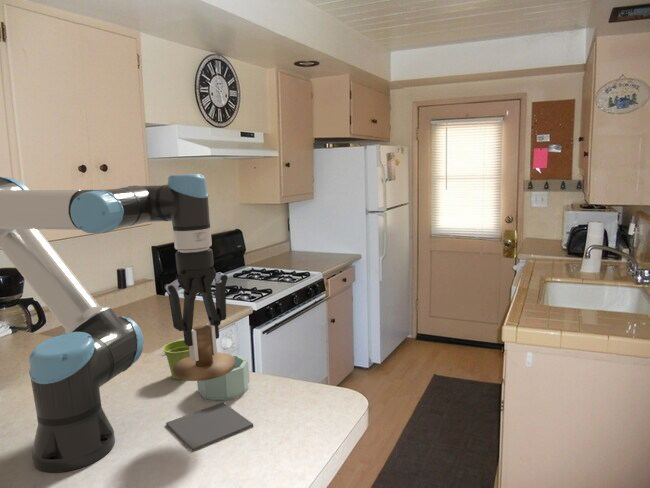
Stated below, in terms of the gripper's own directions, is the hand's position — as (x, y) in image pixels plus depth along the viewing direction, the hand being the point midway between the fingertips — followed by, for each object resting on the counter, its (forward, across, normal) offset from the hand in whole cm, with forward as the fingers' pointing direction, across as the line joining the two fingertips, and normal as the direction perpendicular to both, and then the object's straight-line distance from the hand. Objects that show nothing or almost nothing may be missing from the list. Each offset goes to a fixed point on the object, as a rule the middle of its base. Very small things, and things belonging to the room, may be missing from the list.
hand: (203, 356), depth 109 cm
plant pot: (+16, +7, +30) cm, 35 cm away
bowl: (+16, +11, +14) cm, 24 cm away
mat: (+16, 0, 0) cm, 16 cm away
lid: (+3, 0, 0) cm, 3 cm away
